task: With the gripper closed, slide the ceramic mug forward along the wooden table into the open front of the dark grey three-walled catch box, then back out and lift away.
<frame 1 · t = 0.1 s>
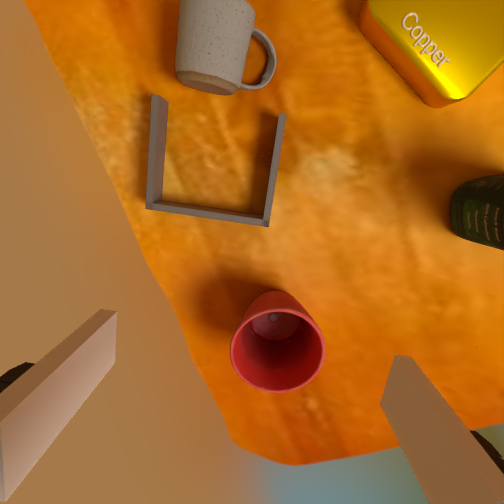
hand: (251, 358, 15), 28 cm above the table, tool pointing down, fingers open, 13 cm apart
element tile: (443, 16, 35), on the table
catch box: (217, 164, 39), on the table
flower pot: (274, 314, 45), on the table
ceramic mug: (229, 59, 37), on the table
coffee jar: (484, 207, 40), on the table
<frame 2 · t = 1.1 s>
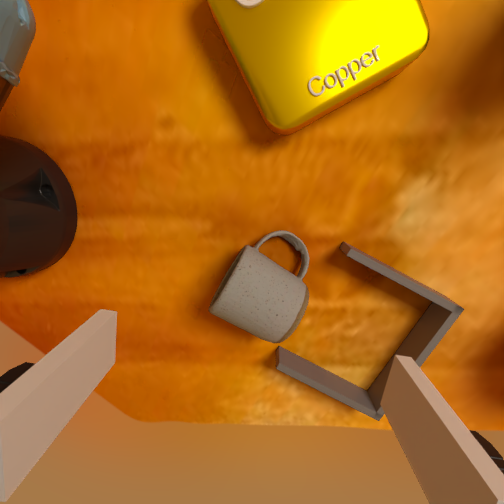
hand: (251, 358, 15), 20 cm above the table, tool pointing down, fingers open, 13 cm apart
element tile: (309, 32, 30), on the table
catch box: (357, 324, 35), on the table
ceramic mug: (265, 272, 35), on the table
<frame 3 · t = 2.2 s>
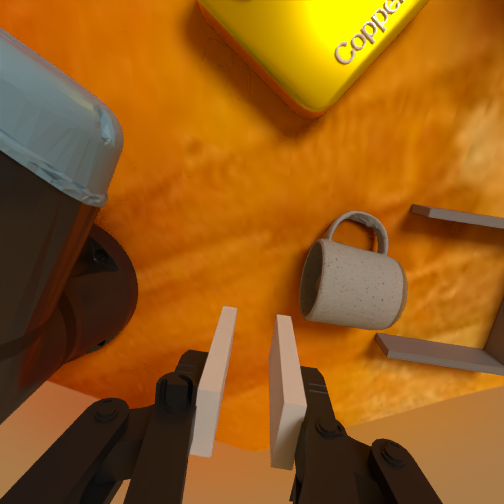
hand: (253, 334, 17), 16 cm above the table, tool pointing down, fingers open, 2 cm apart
element tile: (310, 2, 27), on the table
catch box: (453, 284, 33), on the table
ceramic mug: (340, 260, 33), on the table
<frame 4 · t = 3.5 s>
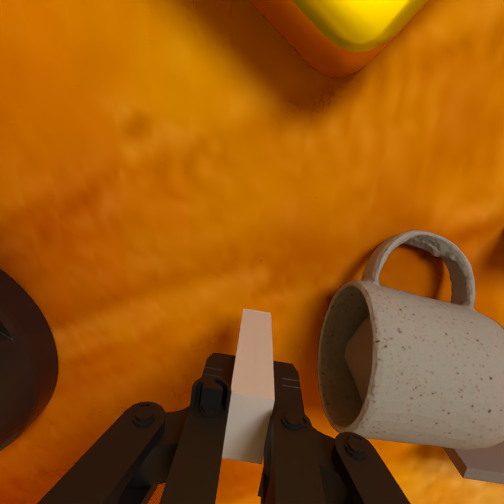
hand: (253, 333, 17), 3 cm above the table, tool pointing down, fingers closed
ceramic mug: (383, 308, 20), on the table
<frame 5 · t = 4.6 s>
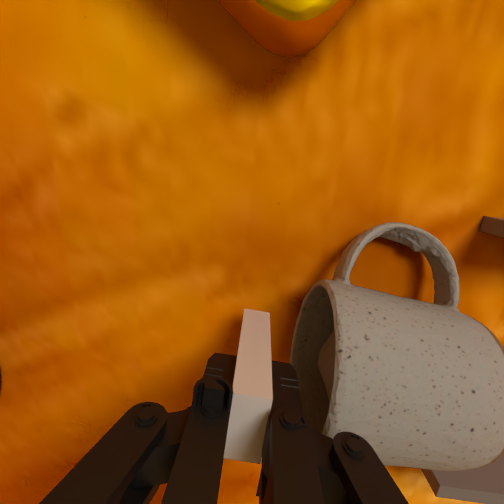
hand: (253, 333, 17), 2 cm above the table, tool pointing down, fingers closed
ceramic mug: (361, 310, 18), on the table, touching gripper
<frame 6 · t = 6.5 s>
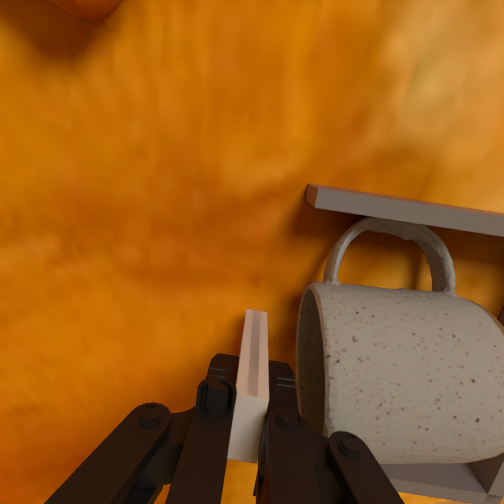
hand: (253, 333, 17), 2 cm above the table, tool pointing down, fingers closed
catch box: (391, 331, 18), on the table
ceramic mug: (362, 305, 18), on the table, touching catch box, gripper
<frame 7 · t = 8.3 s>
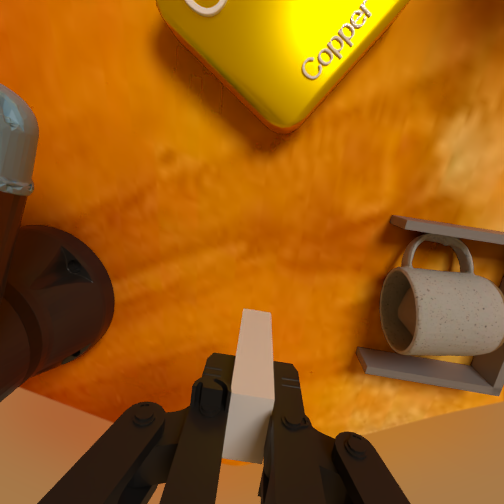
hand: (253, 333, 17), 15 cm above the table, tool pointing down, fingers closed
element tile: (281, 16, 27), on the table
catch box: (436, 298, 31), on the table
ceramic mug: (418, 283, 32), on the table
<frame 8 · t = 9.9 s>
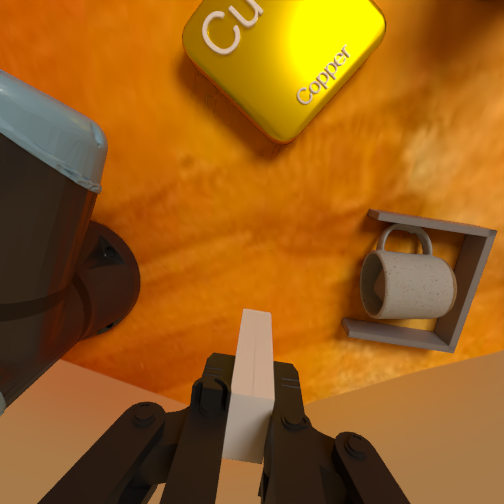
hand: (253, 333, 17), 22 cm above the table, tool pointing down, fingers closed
element tile: (280, 50, 34), on the table
catch box: (405, 276, 39), on the table
ceramic mug: (390, 264, 39), on the table
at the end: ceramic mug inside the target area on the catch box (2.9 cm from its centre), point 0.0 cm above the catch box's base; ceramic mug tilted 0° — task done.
